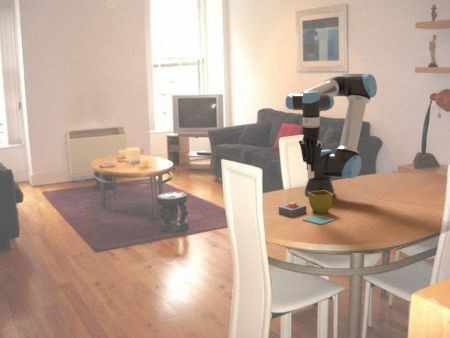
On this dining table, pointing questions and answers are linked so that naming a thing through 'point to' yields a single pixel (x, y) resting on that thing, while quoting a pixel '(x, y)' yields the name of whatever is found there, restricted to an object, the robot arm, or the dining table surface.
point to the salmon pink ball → (292, 204)
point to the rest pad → (318, 219)
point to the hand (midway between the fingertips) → (310, 177)
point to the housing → (292, 210)
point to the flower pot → (320, 201)
